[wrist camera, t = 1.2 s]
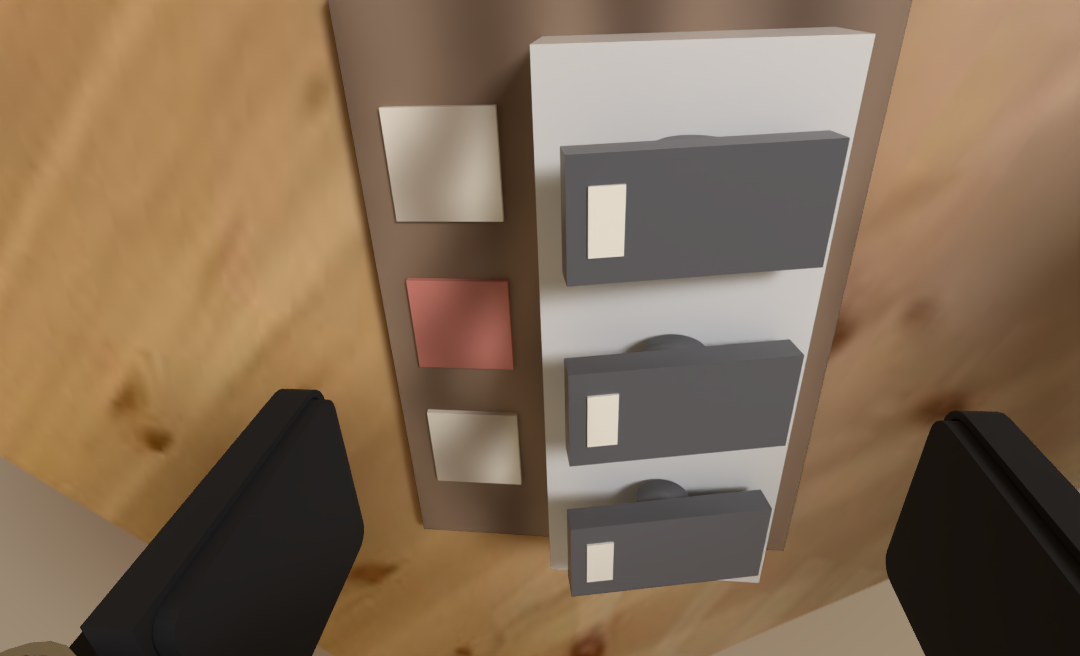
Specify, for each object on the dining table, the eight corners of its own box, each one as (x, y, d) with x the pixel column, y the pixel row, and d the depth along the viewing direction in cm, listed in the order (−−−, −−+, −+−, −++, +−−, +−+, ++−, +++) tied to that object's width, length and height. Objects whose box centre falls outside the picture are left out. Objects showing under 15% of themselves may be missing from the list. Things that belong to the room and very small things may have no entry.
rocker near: (807, 121, 21) (851, 138, 19) (787, 239, 23) (824, 268, 21) (554, 136, 21) (565, 155, 18) (556, 256, 23) (567, 288, 20)
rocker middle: (773, 321, 25) (805, 356, 23) (758, 406, 27) (786, 447, 25) (558, 339, 24) (568, 377, 22) (560, 425, 27) (570, 468, 24)
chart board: (907, -38, 22) (925, -40, 21) (778, 534, 37) (784, 554, 36) (337, -13, 25) (322, -14, 23) (429, 514, 39) (423, 532, 38)
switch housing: (835, 27, 22) (875, 33, 19) (744, 524, 35) (758, 582, 32) (542, 36, 24) (529, 44, 20) (556, 513, 36) (550, 568, 33)
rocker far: (747, 467, 29) (773, 510, 27) (736, 531, 31) (759, 577, 29) (562, 485, 28) (570, 531, 26) (563, 550, 30) (571, 598, 28)
